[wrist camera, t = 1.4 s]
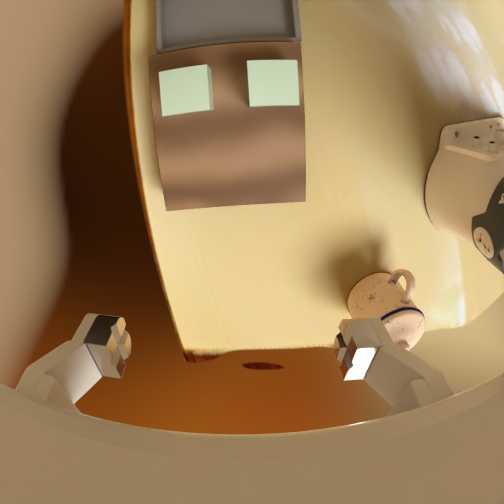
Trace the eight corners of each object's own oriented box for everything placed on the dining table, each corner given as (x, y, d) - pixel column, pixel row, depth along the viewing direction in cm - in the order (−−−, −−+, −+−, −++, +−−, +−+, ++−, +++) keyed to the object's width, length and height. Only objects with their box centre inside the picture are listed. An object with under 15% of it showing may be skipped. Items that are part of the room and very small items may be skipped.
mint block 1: (214, 110, 23) (210, 109, 20) (171, 115, 23) (162, 116, 20) (211, 69, 21) (206, 64, 18) (168, 76, 21) (158, 72, 18)
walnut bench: (298, 190, 31) (305, 201, 27) (175, 199, 31) (166, 211, 27) (293, 50, 23) (300, 42, 19) (160, 62, 23) (148, 56, 20)
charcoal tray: (296, 46, 23) (301, 41, 21) (163, 57, 23) (157, 53, 21) (289, -25, 18) (293, -34, 16) (162, -14, 18) (156, -22, 16)
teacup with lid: (384, 319, 41) (412, 373, 31) (336, 317, 40) (358, 377, 30) (415, 256, 35) (458, 305, 25) (365, 247, 34) (404, 302, 24)
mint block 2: (293, 105, 23) (299, 105, 20) (249, 107, 23) (249, 106, 20) (291, 65, 21) (297, 59, 18) (246, 66, 21) (246, 60, 18)
